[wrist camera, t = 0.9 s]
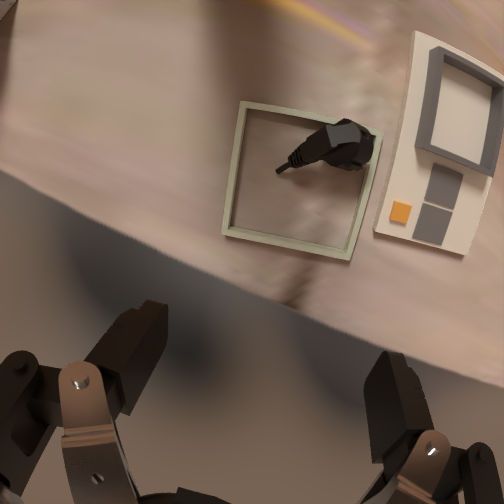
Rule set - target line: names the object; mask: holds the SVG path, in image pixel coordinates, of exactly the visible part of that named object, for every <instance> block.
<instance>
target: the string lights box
mask: <svg viewBox="0 0 504 504" xmlns="http://www.w3.org/2000/svg"><path fill="white" fill-rule="evenodd" d="M16 1H17V0H0V20H1V19H2V18H3V17H4V15H5V14H6V13H7V12H8V10H9V9H10V8H11V7H12V5H13V4H14V3H15V2H16Z"/></svg>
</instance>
